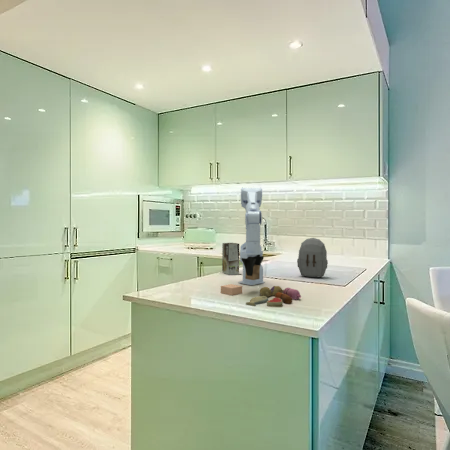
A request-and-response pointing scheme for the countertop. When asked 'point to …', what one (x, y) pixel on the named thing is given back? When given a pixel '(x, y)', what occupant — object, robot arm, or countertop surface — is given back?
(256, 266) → the walnut block
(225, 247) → the coffee box
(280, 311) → the countertop surface
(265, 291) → the toy food set
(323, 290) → the countertop surface
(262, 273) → the robot arm
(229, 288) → the base block
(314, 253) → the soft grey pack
